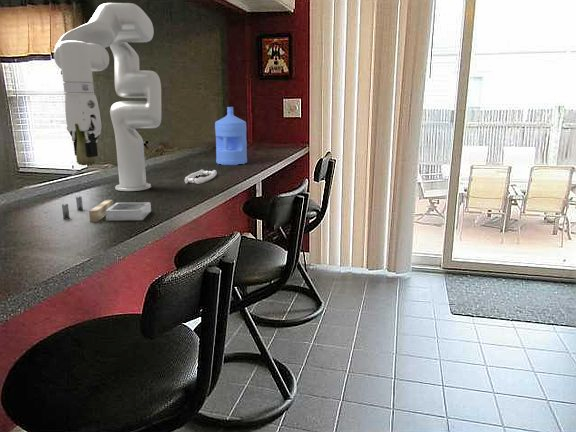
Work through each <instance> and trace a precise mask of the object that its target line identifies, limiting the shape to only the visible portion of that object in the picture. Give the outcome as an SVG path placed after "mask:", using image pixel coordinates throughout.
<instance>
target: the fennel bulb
mask: <svg viewBox="0 0 576 432" xmlns="http://www.w3.org/2000/svg"><path fill="white" fill-rule="evenodd" d="M75 128H76V134H77V155H76V156H75V157H76V163H77V164H78V165H79V166H88V165H94V164H95V163H96V158H97V157H87V156H86V147H85V143H87V142H86V138H85V134H84V132H81V131H79V128H78V124H75ZM89 131H90V129H89ZM90 135H91V134H89V137H90Z"/></svg>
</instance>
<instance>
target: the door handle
mask: <svg viewBox="0 0 576 432" xmlns="http://www.w3.org/2000/svg"><path fill="white" fill-rule="evenodd" d="M217 174H218V173H217V170H216V169H213V170H212V171H211V170H205V169H200V170H198V171H196V172H192V173H190V174H188V175H187V176H185V178H184V183H185V184H186V185H187V184H189V183H191V184H196V185H199V184H204V183H206V182H208V181H211V180H213V179H214V178H215V177H216V176H217ZM199 175H200V177H199ZM204 175H206V176H205V177H204ZM196 176H197V177H198V178H197V177H196Z"/></svg>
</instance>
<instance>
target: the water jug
mask: <svg viewBox="0 0 576 432" xmlns="http://www.w3.org/2000/svg"><path fill="white" fill-rule="evenodd" d="M226 109H227V110H226V113H227V114H226V115H225V116H224V117H222V118H219V120H216V121H215V122H214V131H215V132H214V133H215V147H216V148H215V155H216V158H215V161H216V164H217V165H219V164H221V165H220V166H239V165H238V164H243V165H246V164H247V163H248V155H247V154H248V152H247V150H248V149H247V146H248V143H247V122H246V121H245V120H243V119H242V118H239V117H237V116H235V114H234V106H227V107H226ZM245 163H246V164H245Z"/></svg>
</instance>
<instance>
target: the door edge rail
mask: <svg viewBox="0 0 576 432" xmlns="http://www.w3.org/2000/svg"><path fill="white" fill-rule="evenodd" d="M112 205H114V200H113V199H105V200H104V201H102V202H101V203H99V204H97V205H96V206H95V207H93V208H91V209H90V210H89V211H88V214H89V216H88V217H89V222H93V223H95V222H99V221H101V220H102V219H103V218H104V217H106V215H105V210H107V209H108V208H110V207H111V206H112Z"/></svg>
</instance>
